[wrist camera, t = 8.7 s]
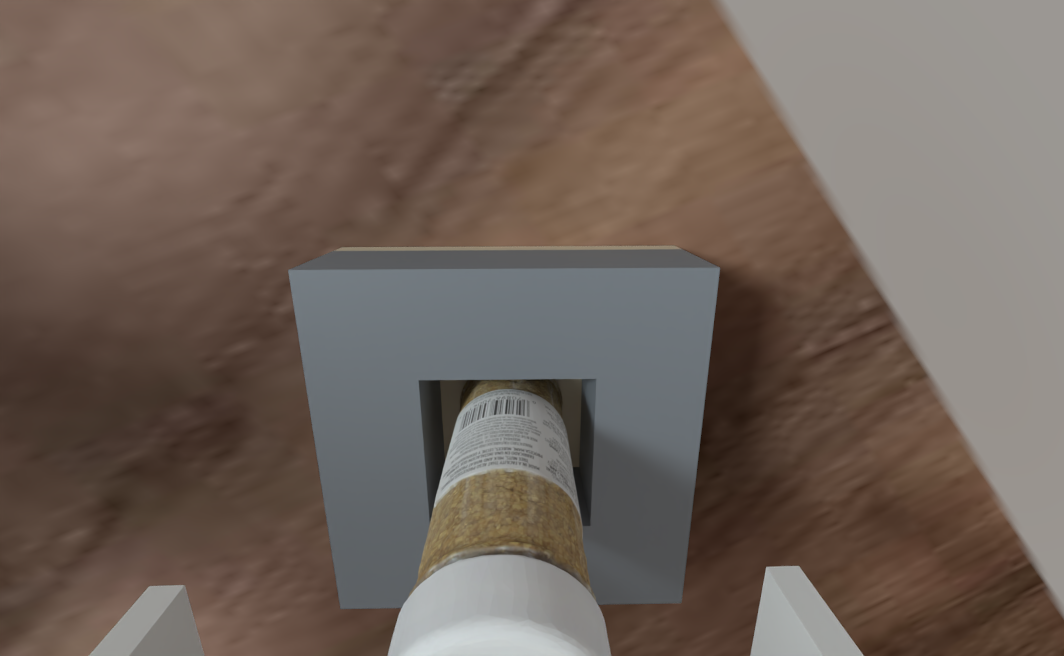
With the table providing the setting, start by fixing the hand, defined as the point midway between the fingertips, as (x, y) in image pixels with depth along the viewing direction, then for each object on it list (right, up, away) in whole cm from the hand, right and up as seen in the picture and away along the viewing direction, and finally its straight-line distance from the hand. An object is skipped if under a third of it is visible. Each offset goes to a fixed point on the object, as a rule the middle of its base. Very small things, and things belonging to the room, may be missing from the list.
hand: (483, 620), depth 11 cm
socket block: (0, +3, +11) cm, 12 cm away
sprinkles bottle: (0, +4, +11) cm, 11 cm away
